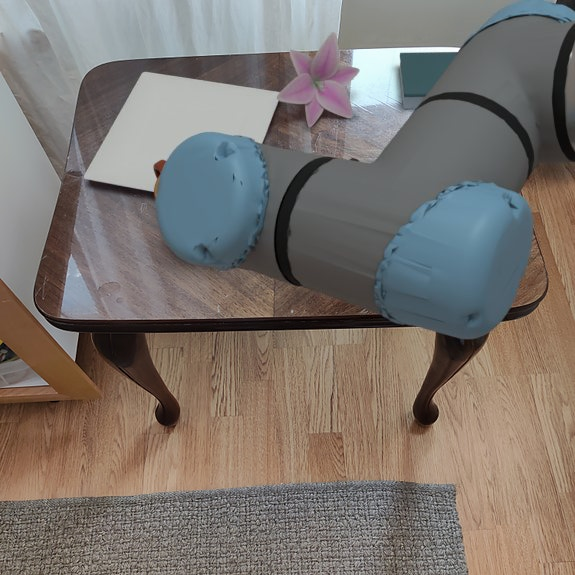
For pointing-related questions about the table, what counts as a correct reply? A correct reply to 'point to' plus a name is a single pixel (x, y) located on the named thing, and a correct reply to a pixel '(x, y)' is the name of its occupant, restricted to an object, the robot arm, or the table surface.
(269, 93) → the plate
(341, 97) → the lily
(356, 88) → the table surface
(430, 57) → the square coaster
